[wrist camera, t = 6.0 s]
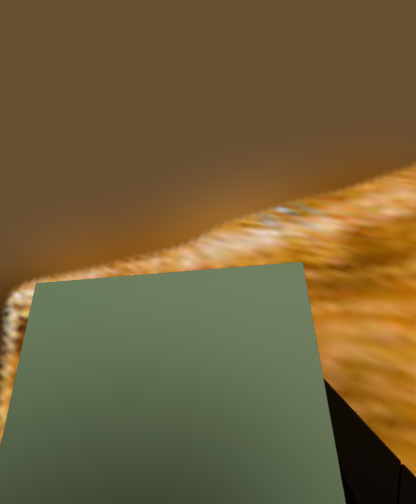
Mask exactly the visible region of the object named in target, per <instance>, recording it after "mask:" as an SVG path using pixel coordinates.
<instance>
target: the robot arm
mask: <svg viewBox="0 0 416 504" xmlns="http://www.w3.org/2000/svg"><path fill="white" fill-rule="evenodd" d="M323 379H324V378H323ZM324 385H325V390H326V396H327V402H328V407H329V413H330V418H331V424H332V429H333V435H334V441H335V446H336V452H337V457H338V463H339V468H340V474H341V480H342V485H343V491H344V496H345V502H346V504H416V477H415V476H414V475H413V474H412V472H411V471H410V470H409V469H408V468H407V467H406V466H405V465H404V464H402V465H401V461H400V460H399V459H398V458H397V456H396V455H395V454H394V453H393V452H392V451H391V450H390V449H389V448H388V447H387V446H386V445H385V444H384V443H383V441H382V440H381V439H380V438H379V437H378V436H377V435H376V434H375V433H374V432H373V431H372V430H371V429H370V427H369V426H368V425H367V424H366V423H365V422H364V421H363V420H362V419H361V418H360V417H359V416H358V415H357V414H356V412H355V411H354V410H353V409H352V408H351V407H350V406H349V405H348V404H347V403H346V402H345V401H344V400H343V398H342V397H341V396H340V395H339V394H338V393H337V392H336V391H335V390H334V389H333V388H332V387H331V386H330V385H329V383H328V382H327V381H326V380H325V379H324Z"/></svg>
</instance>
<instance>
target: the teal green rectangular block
mask: <svg viewBox="0 0 416 504" xmlns="http://www.w3.org/2000/svg"><path fill="white" fill-rule="evenodd" d="M0 504H346V502H345V496H344V491H343V485H342V480H341V474H340V468H339V463H338V457H337V452H336V446H335V441H334V435H333V429H332V424H331V418H330V413H329V407H328V402H327V396H326V390H325V385H324V379H323V374H322V368H321V363H320V357H319V351H318V346H317V340H316V335H315V329H314V324H313V318H312V313H311V307H310V301H309V296H308V290H307V285H306V279H305V274H304V268H303V262H297V263H284V264H271V265H259V266H246V267H234V268H221V269H209V270H196V271H184V272H171V273H159V274H146V275H134V276H121V277H109V278H96V279H84V280H71V281H59V282H46V283H36V286H35V290H34V295H33V300H32V304H31V309H30V313H29V318H28V322H27V327H26V332H25V336H24V341H23V345H22V350H21V355H20V359H19V364H18V368H17V373H16V378H15V382H14V387H13V391H12V396H11V400H10V405H9V410H8V414H7V419H6V423H5V428H4V433H3V437H2V442H1V446H0Z"/></svg>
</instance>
